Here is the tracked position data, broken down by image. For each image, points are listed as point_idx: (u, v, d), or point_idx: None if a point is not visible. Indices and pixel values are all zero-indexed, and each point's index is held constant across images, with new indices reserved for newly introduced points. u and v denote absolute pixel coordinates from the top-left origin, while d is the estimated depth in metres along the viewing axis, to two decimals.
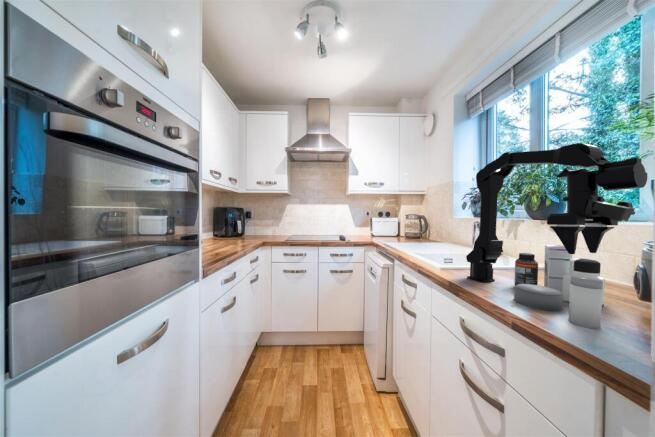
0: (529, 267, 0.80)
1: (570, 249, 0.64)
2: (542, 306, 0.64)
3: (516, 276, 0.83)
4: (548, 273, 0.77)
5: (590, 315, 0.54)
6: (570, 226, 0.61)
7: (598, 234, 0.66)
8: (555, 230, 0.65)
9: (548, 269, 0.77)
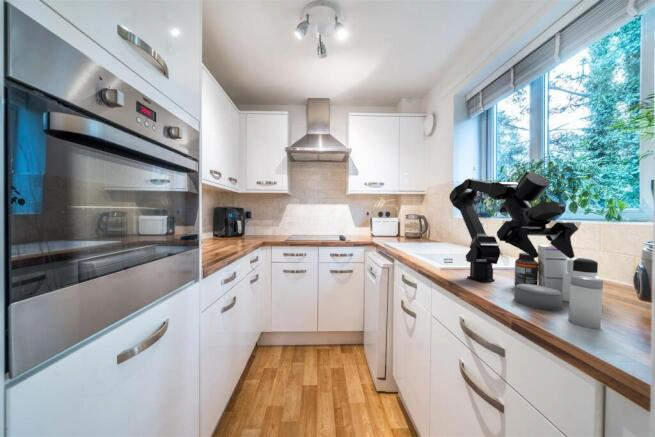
0: (529, 267, 0.80)
1: (532, 253, 0.64)
2: (542, 306, 0.64)
3: (516, 276, 0.83)
4: (545, 273, 0.77)
5: (590, 315, 0.54)
6: (513, 231, 0.67)
7: (564, 240, 0.66)
8: (511, 243, 0.69)
9: (545, 269, 0.77)
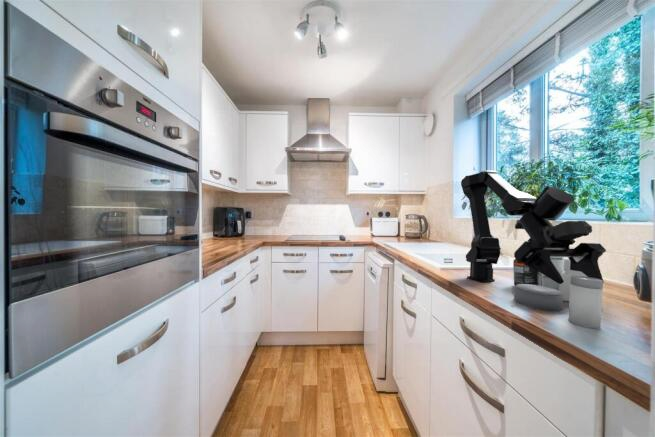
0: (527, 266, 0.80)
1: (556, 278, 0.57)
2: (542, 306, 0.64)
3: (515, 276, 0.83)
4: None
5: (590, 315, 0.54)
6: (533, 253, 0.60)
7: (590, 263, 0.60)
8: (531, 266, 0.62)
9: None
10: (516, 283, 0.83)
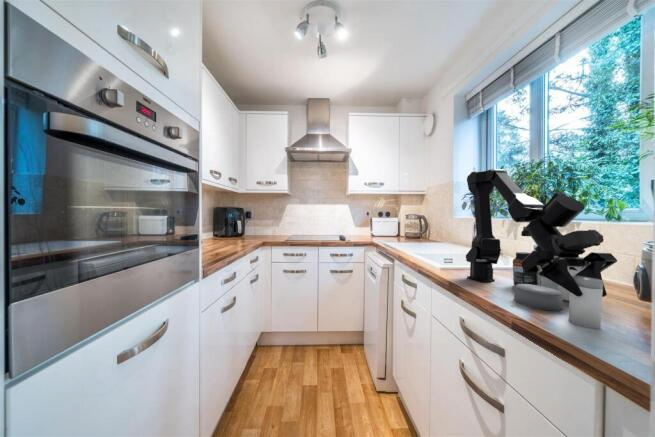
0: None
1: (575, 290, 0.55)
2: (542, 306, 0.64)
3: (514, 275, 0.84)
4: None
5: (590, 315, 0.54)
6: (550, 264, 0.58)
7: (593, 274, 0.57)
8: (547, 276, 0.60)
9: None
10: (516, 283, 0.83)
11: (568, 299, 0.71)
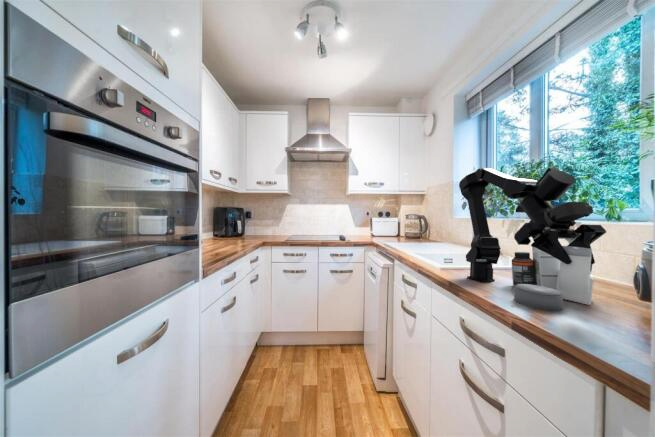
0: (526, 265, 0.81)
1: (564, 259, 0.58)
2: (542, 306, 0.64)
3: (514, 275, 0.84)
4: (540, 271, 0.78)
5: (578, 282, 0.56)
6: (541, 234, 0.60)
7: (582, 244, 0.60)
8: (539, 248, 0.63)
9: (540, 267, 0.78)
10: (515, 282, 0.83)
11: (566, 298, 0.71)
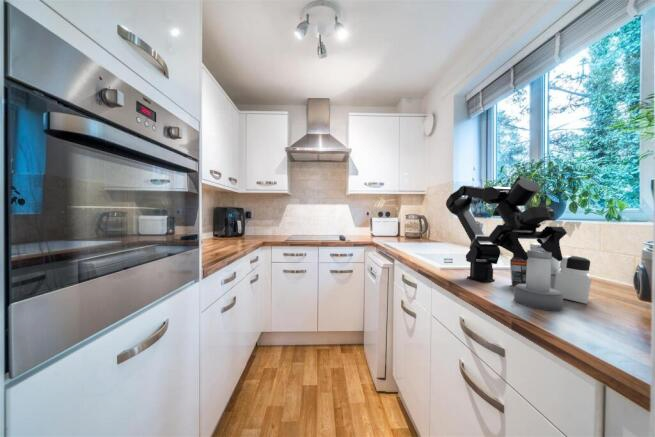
0: (525, 265, 0.82)
1: (522, 255, 0.67)
2: (542, 306, 0.64)
3: (513, 275, 0.84)
4: None
5: (540, 281, 0.66)
6: (504, 235, 0.70)
7: (553, 243, 0.69)
8: (503, 246, 0.72)
9: None
10: (514, 282, 0.84)
11: (564, 297, 0.72)
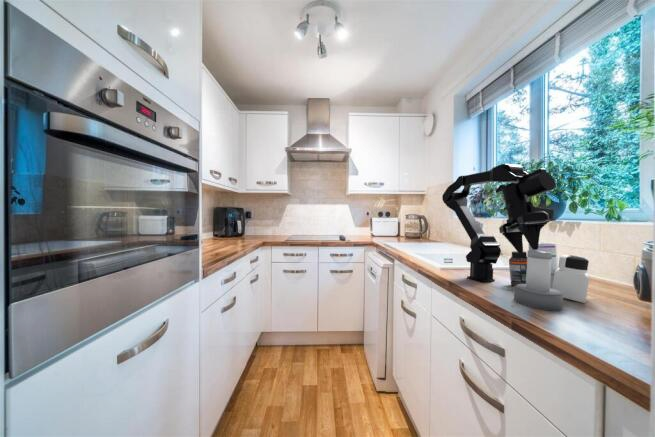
0: (524, 264, 0.82)
1: (535, 245, 0.71)
2: (542, 306, 0.64)
3: (512, 274, 0.85)
4: None
5: (541, 281, 0.66)
6: (541, 222, 0.70)
7: (520, 237, 0.82)
8: (524, 228, 0.72)
9: None
10: (513, 282, 0.84)
11: None
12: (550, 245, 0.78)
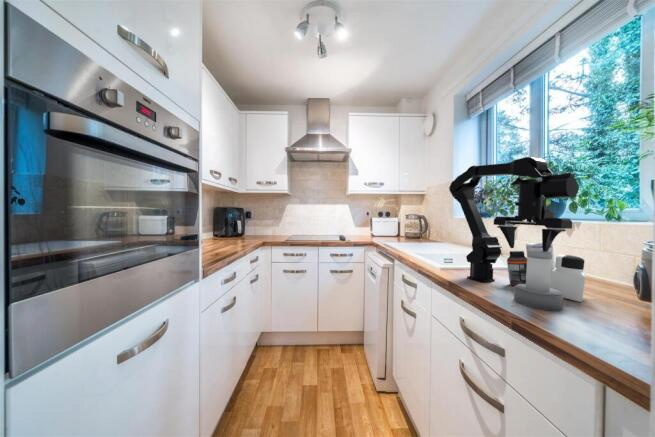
0: (522, 264, 0.83)
1: (547, 249, 0.73)
2: (542, 306, 0.64)
3: (511, 274, 0.85)
4: None
5: (541, 281, 0.66)
6: (563, 229, 0.71)
7: (513, 232, 0.83)
8: (549, 233, 0.71)
9: None
10: (513, 281, 0.84)
11: None
12: None
